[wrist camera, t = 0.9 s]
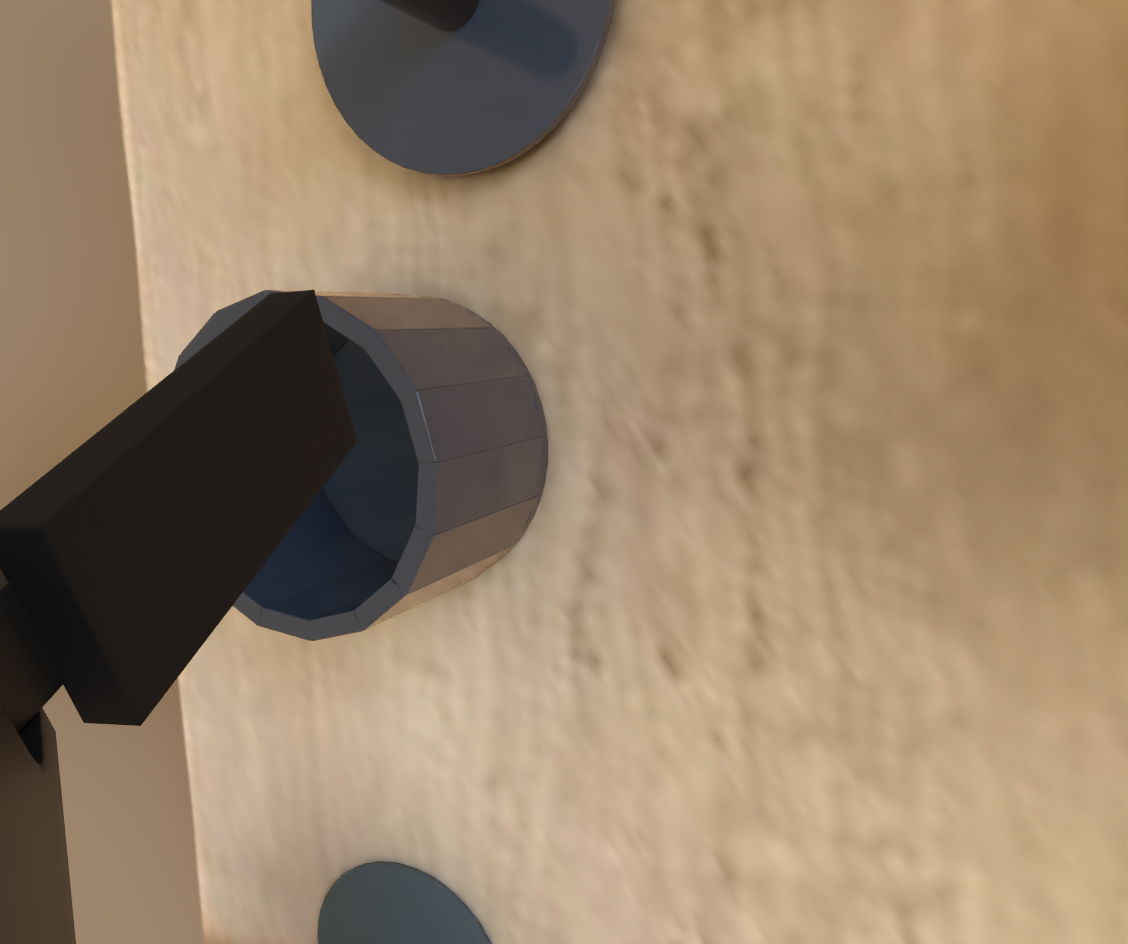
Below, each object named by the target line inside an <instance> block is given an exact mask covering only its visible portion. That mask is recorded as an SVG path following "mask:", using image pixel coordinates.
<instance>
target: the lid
mask: <svg viewBox="0 0 1128 944" xmlns="http://www.w3.org/2000/svg"><path fill="white" fill-rule="evenodd" d="M311 4H312V28H313V36H314V44H315V49H316V53H317V58H318V62H319V67H320V69H321V72H322V75H323V78H324V81H325V84H326V87H327V89H328V91H329V93H330V95H331V97H332V99H333V101H334V103H335V105H336V107H337V109H338V110H339V112H340V113H341V115H342V116H343V118H344V120H345V121H346V122H347V124H348V125H349V126H350V127H351V128H352V130H353V131H354V132H355V133H356V134H357V136H358V137H359V138H360V139H361V140H363V141H364V142H365V143H366V144H367V145H368V146H369V147H370V148H371V149H372V150H374V151H375V152H377V153H378V154H380V155H381V156H383V157H384V158H386V159H387V160H389V161H391V162H393V163H395V164H398V165H400V166H402V167H404V168H407V169H411V170H414V171H417V172H421V173H425V174H430V175H439V176H466V175H471V174H476V173H481V172H485V171H488V170H491V169H493V168H496V167H499V166H502V165H504V164H506V163H508V162H510V161H511V160H513V159H515V158H517V157H519V156H521V155H522V154H524V153H525V152H527V151H528V150H529V149H531V148H532V147H534V146H535V145H536V144H538V143H539V142H540V141H541V140H542V139H543V138H545V137H546V136H547V135H548V134H549V133H550V132H551V131H552V130H553V129H554V128H555V127H556V126H557V125H558V124H559V123H560V121H561V120H562V119H563V118H564V117H565V116H566V114H567V113H568V112H569V111H570V110H571V108H572V107H573V105H574V104H575V102H576V101H577V99H578V98H579V96H580V95H581V93H582V92H583V90H584V89H585V87H586V85H587V83H588V81H589V79H590V77H591V75H592V73H593V71H594V69H595V67H596V65H597V63H598V60H599V57H600V55H601V52H602V49H603V47H604V44H605V41H606V38H607V34H608V30H609V26H610V22H611V18H612V14H613V7H614V0H311Z"/></svg>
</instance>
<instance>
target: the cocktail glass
mask: <svg viewBox="0 0 1128 944" xmlns="http://www.w3.org/2000/svg"><path fill="white" fill-rule="evenodd" d="M318 944H490V941H489V939H488V938H487V936H486V934H485V932H484V931H483V929H482V927H481V926H480V924H479V922H478V921H477V920H476V918H475V917H474V916H473V914H472V913H471V912H470V910H469V909H468V908H467V907H466V906H465V905H464V904H463V903H462V902H461V900H460V899H459V898H458V897H457V896H456V895H455V894H454V893H452V892H451V891H450V890H449V889H447V888H446V887H445V886H444V885H443V884H441V883H440V882H438V881H437V880H435V879H433V878H432V877H430V876H429V875H427V874H425V873H423V872H421V871H419V870H416V869H414V868H412V867H409V866H405V865H401V864H398V863H390V862H375V863H367V864H364V865H361V866H358V867H355V868H353V869H352V870H350V871H349V872H347V873H345V874H344V875H342V876H341V877H340V878H339V879H338V880H337V881H336V882H335V883H334V884H333V886H332V887H331V889H330V890H329V892H328V893H327V895H326V897H325V900H324V902H323V905H322V907H321V911H320V916H319V921H318Z"/></svg>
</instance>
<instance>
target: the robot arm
mask: <svg viewBox="0 0 1128 944" xmlns="http://www.w3.org/2000/svg"><path fill="white" fill-rule="evenodd" d="M356 443H357V438H356V435H355V431H354V428H353V424H352V421H351V417H350V414H349V410H348V407H347V403H346V400H345V396H344V393H343V389H342V386H341V382H340V379H339V375H338V372H337V368H336V365H335V361H334V358H333V354H332V351H331V347H330V344H329V340H328V337H327V333H326V330H325V326H324V323H323V319H322V316H321V312H320V309H319V305H318V302H317V298H316V295H315V291H314V290H306V291H292V292H278V293H270V294H269V295H268V296H266V297H265V298H264V299H263V300H262V301H260V302H259V303H258V304H257V305H255V306H254V307H253V308H252V309H250V310H249V311H248V312H247V313H245V314H244V315H243V316H242V317H240V318H239V319H238V320H237V321H235V322H234V323H233V324H232V325H230V326H229V327H228V328H227V329H225V330H224V331H223V332H222V333H220V334H219V335H218V336H217V337H215V338H214V339H213V340H212V341H211V342H209V343H208V344H207V345H206V346H204V347H203V348H202V349H201V350H199V351H198V352H197V353H196V354H194V355H193V356H192V357H191V358H189V359H188V360H187V361H186V362H184V363H183V364H182V365H181V366H179V367H178V368H177V369H176V370H174V371H173V372H172V373H171V374H169V375H168V376H167V377H166V378H164V379H163V380H162V381H161V382H160V383H158V384H157V385H156V386H155V387H153V388H152V389H151V390H150V391H148V392H147V393H146V394H145V395H143V396H142V397H141V398H140V399H139V400H137V401H136V402H135V403H133V404H132V405H131V406H130V407H128V408H127V409H126V410H125V411H123V413H121V414H120V415H118V416H117V417H116V418H115V419H113V420H112V421H111V422H110V423H109V424H107V425H106V426H105V427H104V428H102V429H101V430H100V431H99V432H97V433H96V434H95V435H94V436H92V437H91V438H90V439H89V440H87V441H86V442H85V443H84V444H82V445H81V446H80V447H79V448H78V449H76V450H75V451H74V452H72V453H71V454H70V455H69V456H67V457H66V458H65V459H64V460H63V461H62V462H60V463H59V464H58V465H56V466H55V467H54V468H53V469H51V470H50V471H49V472H48V473H46V474H45V475H44V476H43V477H41V478H40V479H39V480H38V481H36V482H35V483H34V484H33V485H32V486H30V487H29V488H28V489H26V490H25V491H24V492H23V493H21V494H20V495H19V496H18V497H16V498H15V499H14V500H13V501H12V502H10V503H9V504H8V505H7V506H5V507H4V508H3V509H2V510H0V944H76V939H75V929H74V919H73V909H72V898H71V888H70V877H69V868H68V867H69V866H68V856H67V848H66V847H67V846H66V836H65V825H64V815H63V804H62V794H61V784H60V773H59V763H58V752H57V742H56V732H55V730H54V728H53V726H52V724H51V723H50V721H49V719H48V717H47V715H46V713H45V712H44V710H43V708H42V707H43V706H44V704H46V703H47V701H48V700H49V699H50V698H51V697H52V696H53V695H54V693H56V691H57V690H58V689H59V688H60V687H61V686H62V685H64V687H65V689H66V690H67V692H68V694H69V696H70V698H71V700H72V702H73V703H74V705H75V707H76V709H77V711H78V713H79V715H80V716H81V718H82V720H83V722H84V723H97V724H116V725H136V726H141V724H142V723H143V722H144V721H145V719H146V718H147V717H148V715H149V714H150V713H151V711H152V710H153V709H154V708H155V706H156V705H157V703H158V702H159V701H160V700H161V698H162V697H163V696H164V694H165V693H166V692H167V691H168V689H169V688H170V687H171V685H172V684H173V683H174V681H175V680H176V679H177V677H178V676H179V675H180V673H181V672H182V671H183V670H184V668H185V667H186V666H187V664H188V663H189V662H190V660H191V659H192V658H193V656H194V655H195V654H196V653H197V651H198V650H199V649H200V647H201V646H202V645H203V643H204V642H205V641H206V639H207V638H208V637H209V635H210V634H211V633H212V632H213V630H214V629H215V628H216V626H217V625H218V624H219V622H220V621H221V620H222V618H223V617H224V616H225V614H226V613H227V612H228V611H229V609H230V608H231V607H232V605H233V604H234V603H235V601H236V600H237V599H238V597H239V596H240V595H241V594H242V592H243V591H244V590H245V588H246V587H247V586H248V584H249V583H250V582H251V580H252V579H253V578H254V576H255V575H256V574H257V573H258V571H259V570H260V569H261V567H262V566H263V565H264V563H265V562H266V561H267V559H268V558H269V557H270V556H271V554H272V553H273V552H274V550H275V549H276V548H277V546H278V545H279V544H280V542H281V541H282V540H283V538H284V537H285V536H286V535H287V533H288V532H289V531H290V529H291V528H292V527H293V525H294V524H295V523H296V521H297V520H298V519H299V518H300V516H301V515H302V514H303V512H304V511H305V510H306V508H307V507H308V506H309V504H310V503H311V502H312V500H313V499H314V498H315V497H316V495H317V494H318V493H319V491H320V490H321V489H322V487H323V486H324V485H325V483H326V482H327V481H328V480H329V478H330V477H331V476H332V474H333V473H334V472H335V470H336V469H337V468H338V466H339V465H340V464H341V462H342V461H343V460H344V459H345V457H346V456H347V455H348V453H349V452H350V451H351V449H352V448H353V447H354V445H355V444H356Z"/></svg>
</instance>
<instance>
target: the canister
mask: <svg viewBox="0 0 1128 944" xmlns="http://www.w3.org/2000/svg"><path fill="white" fill-rule="evenodd" d="M278 292H292V291H287V290H264V291H262V292H259V293H257V294H255V295H252V296H250V297H248V298H246V299H243V300H241V301H239V302H236V303H234V304H232V305H229V306H227V307H225V308H222V309H220V310H218V311H216V313H214V314H213V316H212V317H211V318H210V319H209V320H208V322H207V323H206V324H205V325H204V326H203V328H202V329H201V330H200V331H199V332H198V334H197V335H196V336H195V337H194V338H193V340H192V341H191V342H190V343H189V344H188V346H187V347H186V348H185V349H184V350H183V352H182V353H181V355H179V358H178V361H177V364H176V367H175V370H176V369H177V368H178V367H179V366H181V365H182V364H183V363H184V362H186V361H187V360H188V359H189V358H191V357H192V356H193V355H194V354H196V353H197V352H198V351H199V350H201V349H202V348H203V347H204V346H206V345H207V344H208V343H209V342H211V341H212V340H213V339H214V338H215V337H217V336H218V335H219V334H220V333H222V332H223V331H224V330H225V329H227V328H228V327H229V326H230V325H232V324H233V323H234V322H235V321H237V320H238V319H239V318H240V317H242V316H243V315H244V314H245V313H247V312H248V311H249V310H250V309H252V308H253V307H254V306H255V305H257V304H258V303H259V302H260V301H262V300H263V299H264V298H265V297H266V296H268V295H269V294H270V293H278ZM315 295H316V298H317V302H318V305H319V309H320V312H321V316H322V319H323V323H324V326H325V330H326V333H327V337H328V340H329V344H330V347H331V351H332V354H333V358H334V361H335V365H336V368H337V372H338V375H339V379H340V382H341V386H342V389H343V393H344V396H345V400H346V403H347V407H348V410H349V414H350V417H351V421H352V424H353V428H354V431H355V435H356V438H357V443H356V444H355V445H354V447H353V448H352V449H351V451H350V452H349V453H348V455H347V456H346V457H345V459H344V460H343V461H342V462H341V464H340V465H339V466H338V468H337V469H336V470H335V472H334V473H333V474H332V476H331V477H330V478H329V480H328V481H327V482H326V483H325V485H324V486H323V487H322V489H321V490H320V491H319V493H318V494H317V495H316V497H315V498H314V499H313V500H312V502H311V503H310V504H309V506H308V507H307V508H306V510H305V511H304V512H303V514H302V515H301V516H300V518H299V519H298V520H297V521H296V523H295V524H294V525H293V527H292V528H291V529H290V531H289V532H288V533H287V535H286V536H285V537H284V538H283V540H282V541H281V542H280V544H279V545H278V546H277V548H276V549H275V550H274V552H273V553H272V554H271V556H270V557H269V558H268V559H267V561H266V562H265V563H264V565H263V566H262V567H261V569H260V570H259V571H258V573H257V574H256V575H255V576H254V578H253V579H252V580H251V582H250V583H249V584H248V586H247V587H246V588H245V590H244V591H243V592H242V594H241V595H240V596H239V597H238V599H237V600H236V601H235V603H234V604H233V606H234V607H235V608H236V609H238V610H239V611H240V612H241V613H243V614H244V615H245V616H246V617H248V618H249V619H250V620H251V621H253V622H254V623H255V624H256V625H258V626H261V627H264V628H268V629H271V630H275V631H278V632H282V633H285V634H289V635H292V636H295V637H299V638H302V639H306V640H311V641H315V640H321V639H326V638H331V637H336V636H341V635H346V634H351V633H356V632H361V631H364V630H366V629H368V628H370V627H372V626H374V625H376V624H379V623H381V622H383V621H385V620H387V619H389V618H391V617H393V616H395V615H397V614H399V613H401V612H403V611H405V610H408V609H410V608H412V607H414V606H416V605H418V604H420V603H422V602H424V601H426V600H428V599H430V598H432V597H435V596H437V595H439V594H441V593H443V592H445V591H447V590H449V589H451V588H453V587H455V586H457V585H459V584H462V583H464V582H466V581H468V580H470V579H472V578H474V577H476V576H478V575H479V574H480V573H481V572H482V571H484V570H485V569H486V568H488V567H489V566H491V565H492V564H494V563H495V562H497V561H498V560H500V559H501V558H502V557H503V556H504V555H505V554H506V553H507V552H508V551H509V550H511V549H512V548H513V547H514V545H515V544H516V543H517V541H518V540H519V539H520V538H521V536H522V535H523V534H524V532H525V531H526V529H527V527H528V525H529V524H530V522H531V520H532V519H533V516H534V514H535V511H536V509H537V507H538V504H539V502H540V498H541V495H542V491H543V487H544V484H545V477H546V470H547V459H548V441H547V431H546V423H545V418H544V413H543V409H542V404H541V402H540V399H539V396H538V393H537V390H536V387H535V385H534V382H533V380H532V378H531V376H530V374H529V372H528V370H527V368H526V366H525V365H524V363H523V362H522V360H521V359H520V357H519V355H518V354H517V352H516V351H515V350H514V348H513V347H512V346H511V345H510V344H509V342H508V341H507V340H506V339H505V338H504V336H503V335H501V334H500V333H499V332H498V331H497V330H496V329H495V328H494V327H493V326H492V325H491V324H490V323H488V322H487V321H485V320H484V319H483V318H481V317H480V316H478V315H477V314H476V313H474V312H472V311H470V310H468V309H466V308H464V307H462V306H460V305H458V304H455V303H452V302H450V301H448V300H445V299H440V298H432V297H422V296H411V295H401V294H378V293H348V292H317V291H315Z"/></svg>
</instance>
